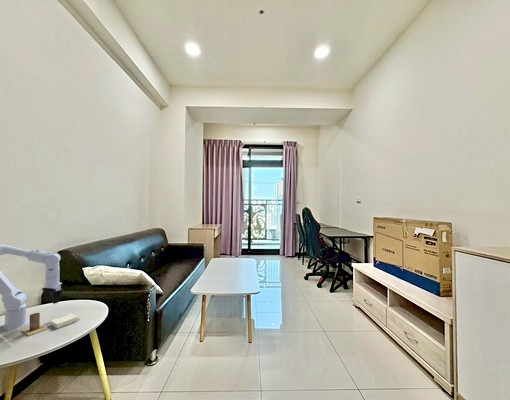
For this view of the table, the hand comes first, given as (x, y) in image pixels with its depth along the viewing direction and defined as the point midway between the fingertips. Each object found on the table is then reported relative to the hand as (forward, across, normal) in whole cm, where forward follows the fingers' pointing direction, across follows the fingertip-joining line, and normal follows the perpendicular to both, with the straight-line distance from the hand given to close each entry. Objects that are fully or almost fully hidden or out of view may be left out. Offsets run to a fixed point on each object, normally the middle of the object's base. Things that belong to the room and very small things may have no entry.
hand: (52, 301), depth 129 cm
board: (+9, -7, +10) cm, 15 cm away
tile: (+8, -8, -1) cm, 11 cm away
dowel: (+8, -7, +10) cm, 14 cm away
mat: (+9, -9, -1) cm, 13 cm away
